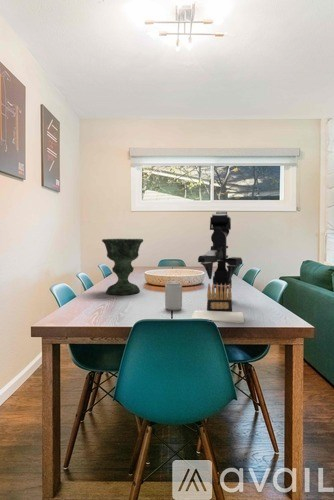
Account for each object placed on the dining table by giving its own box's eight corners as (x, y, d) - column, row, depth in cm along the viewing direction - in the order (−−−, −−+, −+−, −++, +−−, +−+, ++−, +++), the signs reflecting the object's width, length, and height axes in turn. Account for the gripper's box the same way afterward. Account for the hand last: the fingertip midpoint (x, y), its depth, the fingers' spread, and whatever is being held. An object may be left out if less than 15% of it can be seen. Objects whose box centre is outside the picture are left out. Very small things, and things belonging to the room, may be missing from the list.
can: (166, 311, 143) (166, 283, 142) (163, 307, 150) (163, 281, 149) (183, 310, 144) (183, 283, 143) (179, 306, 151) (179, 280, 151)
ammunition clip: (207, 311, 142) (207, 283, 142) (206, 310, 143) (206, 283, 143) (232, 311, 141) (232, 283, 141) (231, 310, 143) (231, 283, 143)
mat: (195, 311, 142) (195, 310, 142) (243, 313, 138) (243, 312, 138) (190, 320, 128) (190, 318, 128) (243, 323, 124) (243, 321, 124)
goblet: (100, 290, 193) (100, 238, 192) (138, 288, 200) (138, 238, 198) (105, 297, 172) (104, 239, 171) (147, 294, 179) (147, 239, 178)
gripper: (190, 243, 140) (190, 280, 141) (229, 245, 128) (228, 285, 129) (205, 242, 148) (205, 277, 149) (243, 244, 136) (242, 281, 137)
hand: (219, 280), depth 141 cm, fingers open, 9 cm apart
